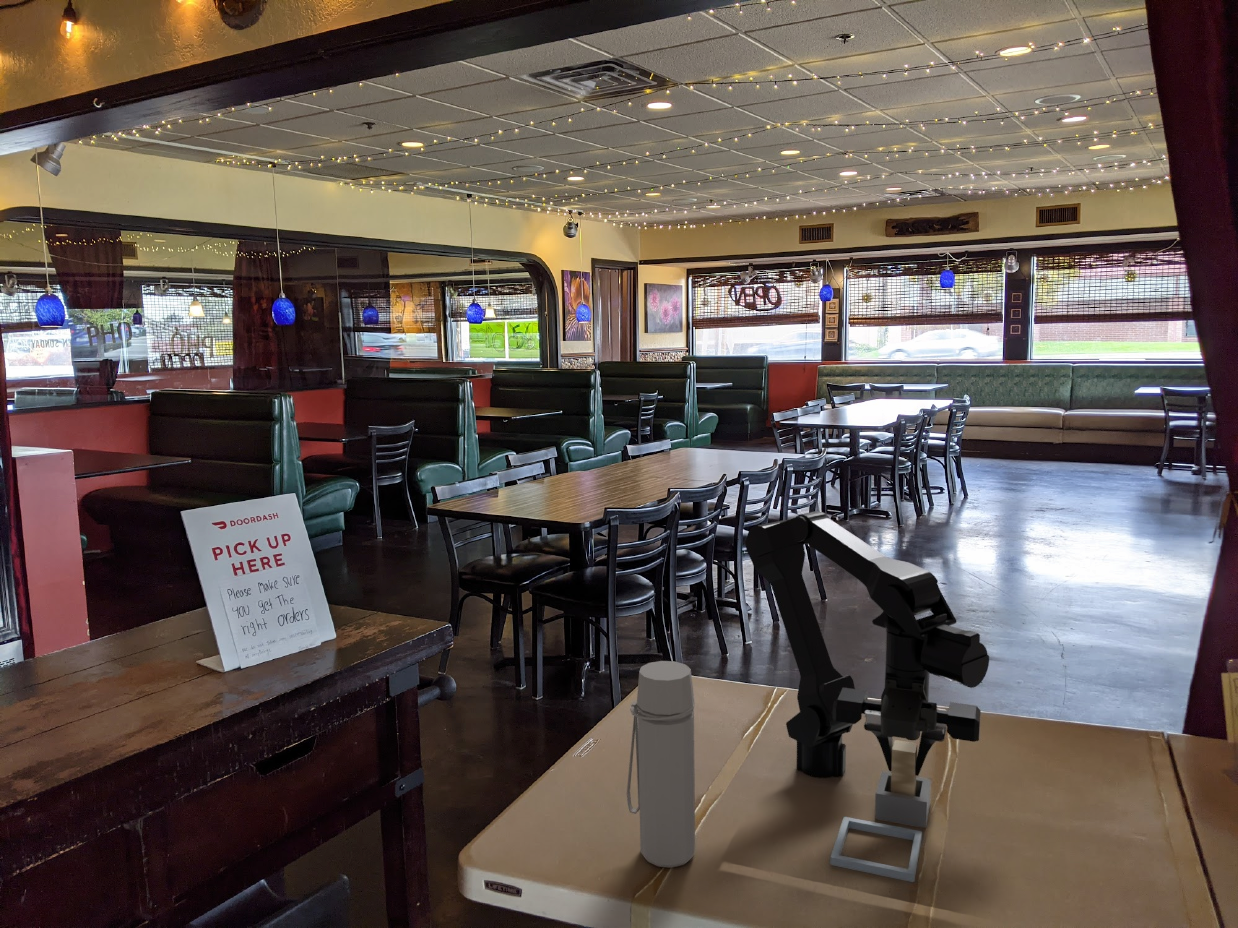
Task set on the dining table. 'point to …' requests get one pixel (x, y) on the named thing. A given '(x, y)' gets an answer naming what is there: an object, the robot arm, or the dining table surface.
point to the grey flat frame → (872, 866)
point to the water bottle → (664, 763)
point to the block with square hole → (902, 802)
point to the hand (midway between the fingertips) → (903, 772)
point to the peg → (903, 768)
